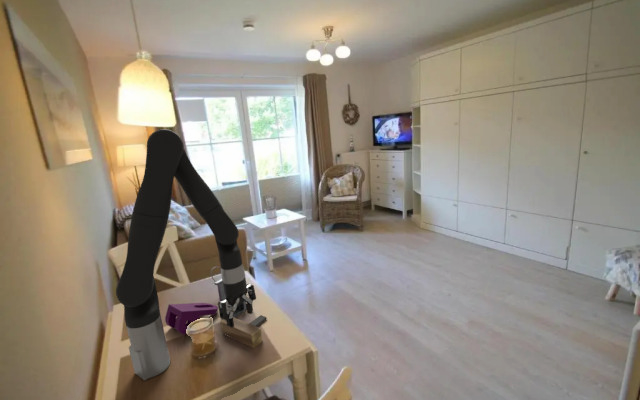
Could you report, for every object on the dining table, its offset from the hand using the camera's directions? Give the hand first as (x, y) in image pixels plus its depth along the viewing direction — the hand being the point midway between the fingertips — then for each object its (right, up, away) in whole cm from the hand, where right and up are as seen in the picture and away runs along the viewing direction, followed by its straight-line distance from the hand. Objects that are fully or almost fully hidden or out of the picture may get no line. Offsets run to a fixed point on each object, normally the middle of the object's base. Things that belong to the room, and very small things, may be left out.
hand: (241, 319), depth 108 cm
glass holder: (-14, 0, +34) cm, 37 cm away
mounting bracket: (-21, -6, +13) cm, 26 cm away
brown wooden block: (0, -7, +1) cm, 7 cm away
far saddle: (+4, -5, +9) cm, 11 cm away
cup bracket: (-7, -4, +16) cm, 18 cm away
